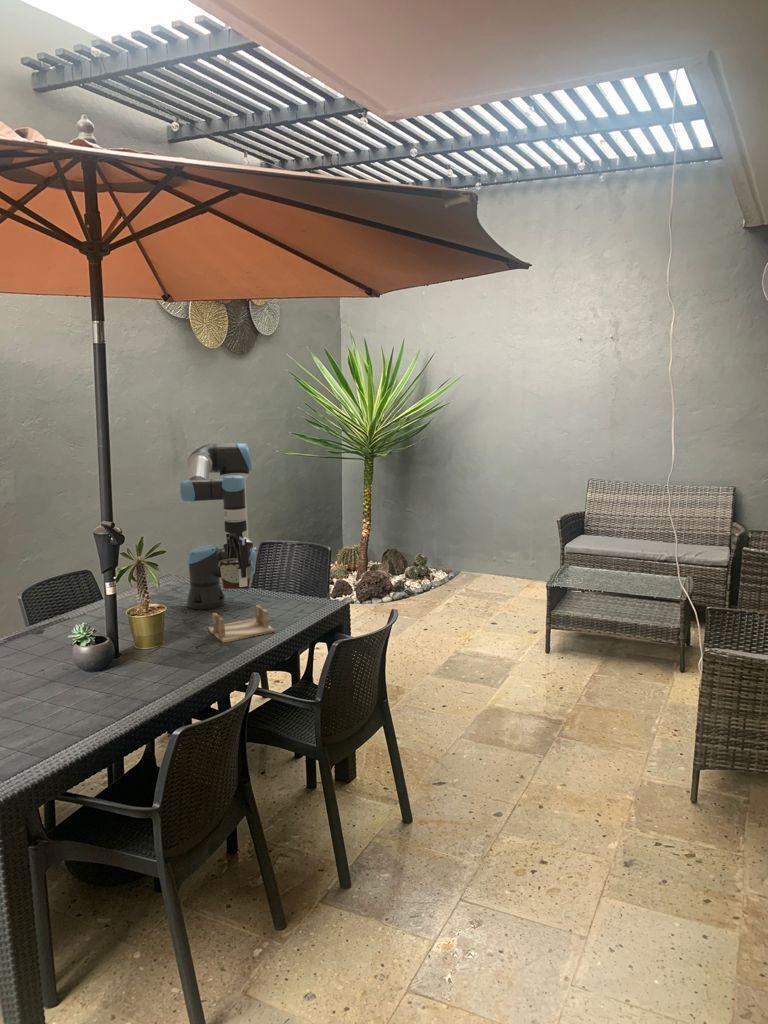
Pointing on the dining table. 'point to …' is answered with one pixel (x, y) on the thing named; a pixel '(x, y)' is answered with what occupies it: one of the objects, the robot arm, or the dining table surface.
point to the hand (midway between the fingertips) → (238, 583)
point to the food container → (233, 573)
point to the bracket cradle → (241, 627)
